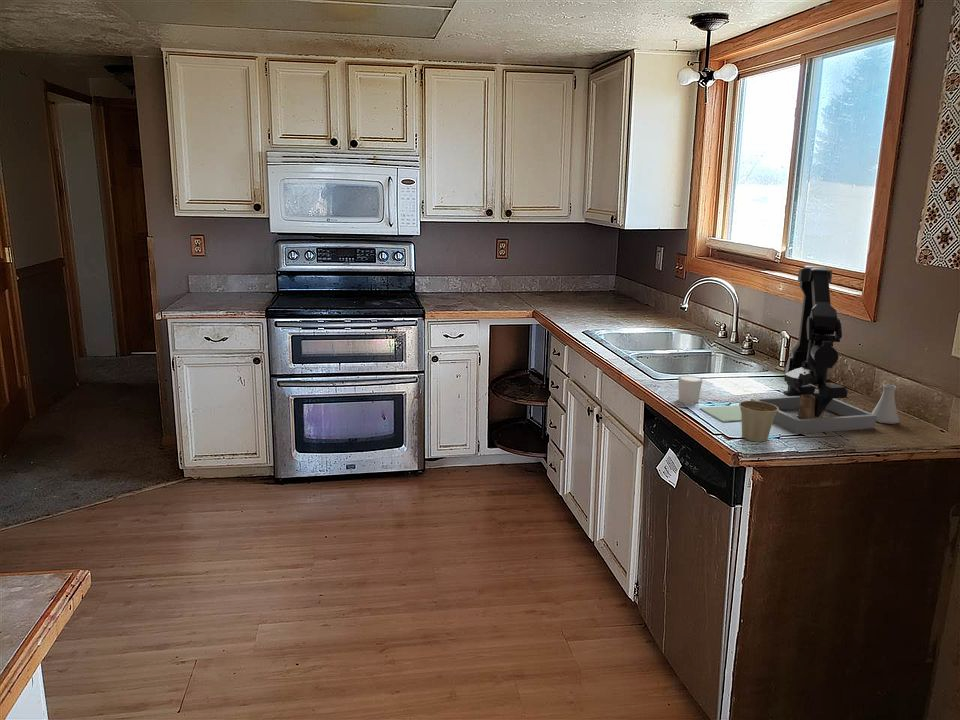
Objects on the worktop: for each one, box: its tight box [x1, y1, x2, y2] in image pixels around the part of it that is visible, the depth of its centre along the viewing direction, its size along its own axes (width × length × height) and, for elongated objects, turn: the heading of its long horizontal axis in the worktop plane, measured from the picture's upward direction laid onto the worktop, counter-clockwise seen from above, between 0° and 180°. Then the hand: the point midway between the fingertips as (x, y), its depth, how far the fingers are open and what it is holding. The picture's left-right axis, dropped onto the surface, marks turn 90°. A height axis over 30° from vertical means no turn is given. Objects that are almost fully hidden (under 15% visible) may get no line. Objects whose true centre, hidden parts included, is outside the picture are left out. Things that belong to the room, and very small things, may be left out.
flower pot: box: [738, 400, 779, 443], centre depth 187 cm, size 9×9×9 cm
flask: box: [871, 384, 900, 425], centre depth 204 cm, size 7×7×10 cm
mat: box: [699, 405, 742, 423], centre depth 207 cm, size 12×12×1 cm
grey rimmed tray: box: [750, 395, 877, 435], centre depth 204 cm, size 20×24×4 cm
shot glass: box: [677, 375, 703, 405], centre depth 218 cm, size 7×7×7 cm
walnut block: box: [797, 394, 825, 419], centre depth 204 cm, size 4×4×6 cm
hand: (810, 414), depth 204 cm, fingers closed on walnut block, 4 cm apart
